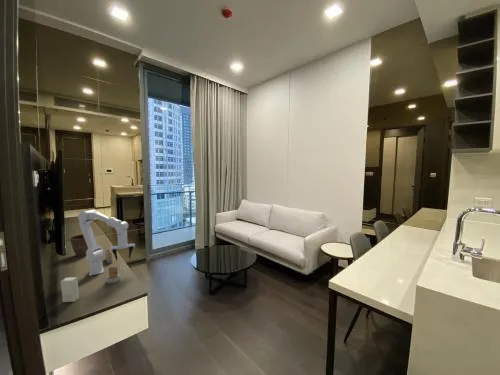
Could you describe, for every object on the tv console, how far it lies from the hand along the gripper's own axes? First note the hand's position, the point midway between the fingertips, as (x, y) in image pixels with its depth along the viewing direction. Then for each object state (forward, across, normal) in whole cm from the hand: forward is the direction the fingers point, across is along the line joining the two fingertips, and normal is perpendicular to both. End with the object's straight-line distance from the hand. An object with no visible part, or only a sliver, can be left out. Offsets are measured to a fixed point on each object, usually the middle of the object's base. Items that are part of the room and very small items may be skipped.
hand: (123, 258), depth 149 cm
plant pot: (+11, -28, +58) cm, 65 cm away
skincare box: (+11, -26, -21) cm, 35 cm away
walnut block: (+8, -6, -8) cm, 13 cm away
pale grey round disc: (+11, -6, -8) cm, 15 cm away
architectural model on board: (+11, -9, +31) cm, 34 cm away
